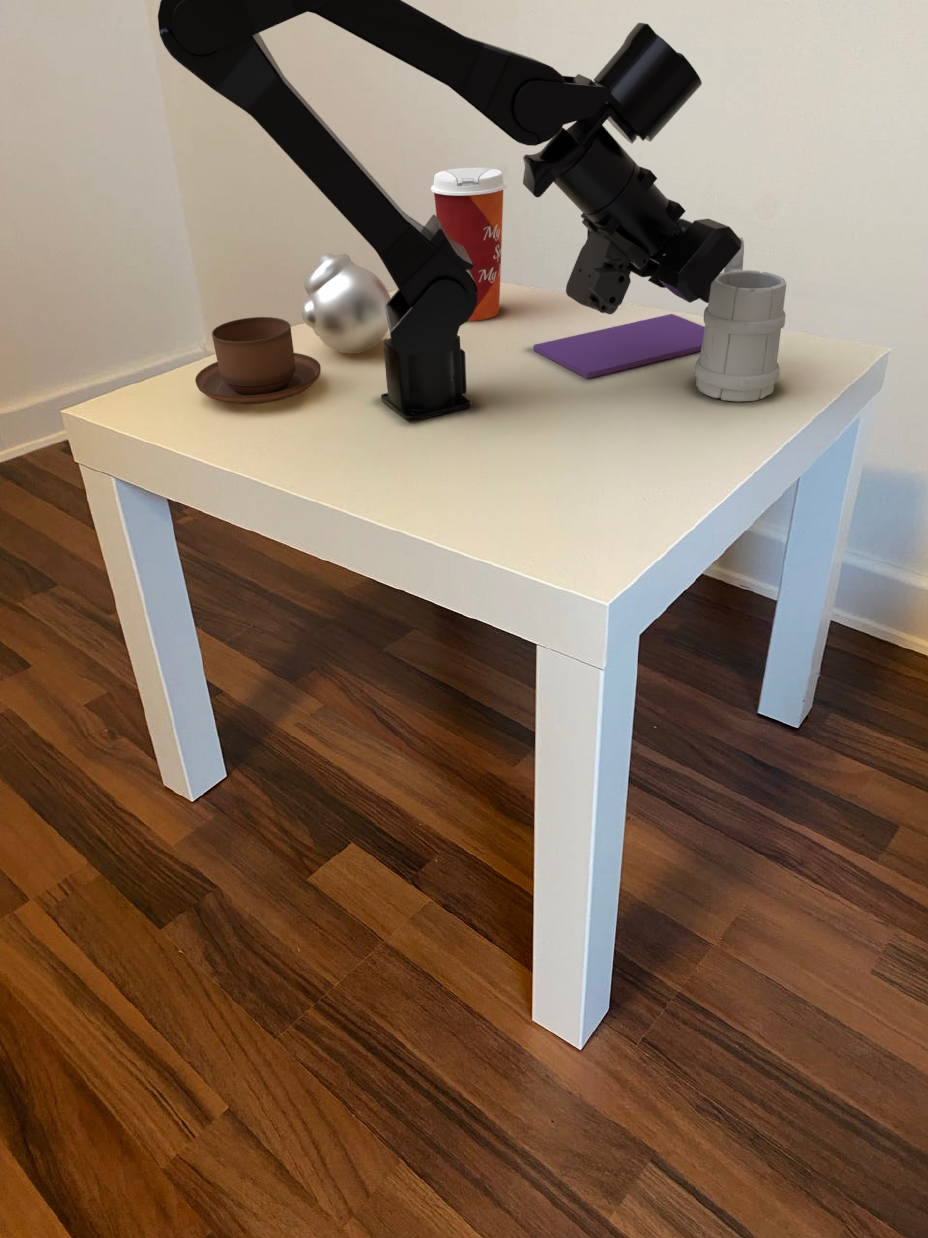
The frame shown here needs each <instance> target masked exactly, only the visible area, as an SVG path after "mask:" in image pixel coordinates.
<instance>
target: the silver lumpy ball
mask: <svg viewBox="0 0 928 1238" xmlns="http://www.w3.org/2000/svg"><path fill="white" fill-rule="evenodd" d="M303 288H304V290H305V292H306V293H307V296H306V298H305V299H304V302H303V304H302V307H301V317H302V320H303V322H304V323H305V325H306V326H308V327H309V328H311V329H312V331H313V332H314V334H315V335H316V336H317V337H318V338H319V339H320V341H322V343H323V344H324V345H325V346H326V347H328V348H330V349H331V350H334V351H337V352H340V353H344V354H359V353H364V352H366V351H369V350H371V349H373V348H374V347H376V346H377V345H378V344H379V343H380V342H382V341H383V338H384V337H385V336H386V334H387V333H388V331H389V326H388V321H387V316H386V310H385V305H386V303H387V302H388V301H389V300H390V299H391V295H390V292H389V289H388V288H387V286H386V284H385V283H384V282H383V280H381V278H380V277H379V276H378V275H376V274H375V273H374V272H373V271H371V270H369V269H368V268H365V267H363V266H360V265H358V264H356V263H354V262H353V259H352V258H351V257H350V255H349V254H347V253H340V254H332V253H324V254H322V255H320V257H319V258H318V260H317V261H316V262H315V264H314V265H313V266H312V269H311V271H310V273H309V275H308V276H306V278H304V281H303Z"/></svg>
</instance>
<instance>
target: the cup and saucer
mask: <svg viewBox="0 0 928 1238" xmlns="http://www.w3.org/2000/svg"><path fill="white" fill-rule="evenodd" d="M291 327H292V326H291V323H290V322H289V321H288V320H285V319H283V318H278V317H273V316H272V317H271V316H254V317H246V318H240V319H234V320H231V321H228V322H227V321H226V322H224V323H222V324H220V325H218V326H216V327H215V328H213V330H212V331H211V337H212V342H213V347H214V351H215V352H214V353H215V356H216V357H215V358H216V362H213V363H211V364H209V365H207V366H205V367H204V368H203V369H201V370H200V371H198V373H197V374H196V376H195V381H194V382H195V385H196V387H197V389H198V390H199V391H200V392H201V393H202V394H203V395H205V396H206V397H208V398H210V399H212V400H213V401H217V402H221V403H225V404H231V405H243V406H244V405H245V406H247V405H249V406H251V405H262V404H270V403H276V402H279V401H283V400H287V399H289V398H293V397H294V396H297V395H299V394H301V393H304V392H305V391H307V390H308V389H309V388H311V387H313V385H314V384H315V383H316V381H317V380H318V379H319V378H320V376H321V371H322V369H321V368H322V366H321V363H320V362H319V361H318V360H317V359H316V358H314V357H312V356H309V355H307V354H303V353H299V352H295V351H294V343H293V336H292V335H293V334H292V328H291Z"/></svg>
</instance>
